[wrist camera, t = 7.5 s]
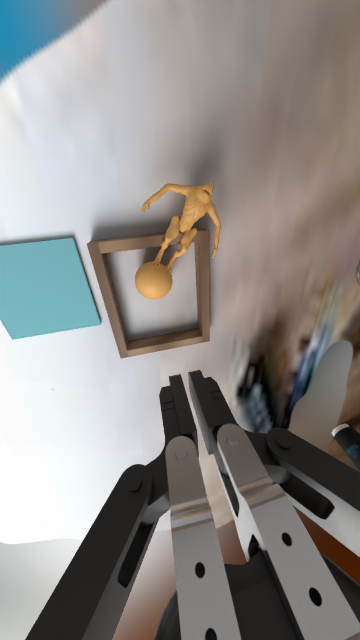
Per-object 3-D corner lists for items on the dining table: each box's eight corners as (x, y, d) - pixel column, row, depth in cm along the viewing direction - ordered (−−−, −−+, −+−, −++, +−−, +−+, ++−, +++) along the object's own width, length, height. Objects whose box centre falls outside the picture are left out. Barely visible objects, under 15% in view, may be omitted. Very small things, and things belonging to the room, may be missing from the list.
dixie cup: (328, 426, 52) (370, 474, 42) (355, 416, 52) (403, 460, 43) (325, 441, 56) (363, 487, 46) (350, 431, 56) (393, 475, 47)
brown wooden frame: (202, 228, 22) (208, 230, 20) (205, 333, 29) (209, 341, 27) (90, 241, 20) (86, 243, 19) (121, 349, 27) (120, 358, 26)
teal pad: (73, 237, 20) (72, 238, 20) (101, 323, 25) (100, 324, 25) (-39, 249, 19) (-43, 250, 18) (14, 337, 23) (12, 339, 23)
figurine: (104, 286, 20) (165, 155, 12) (118, 257, 24) (170, 145, 17) (176, 319, 23) (257, 229, 16) (177, 288, 27) (242, 205, 20)
